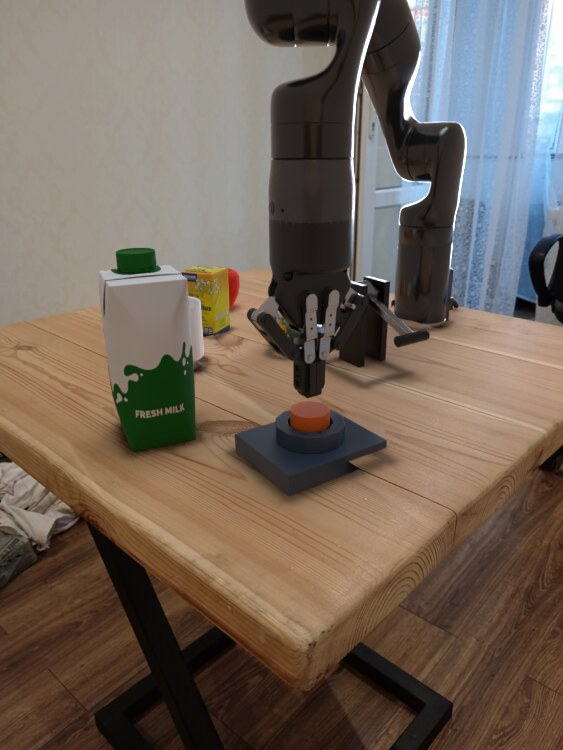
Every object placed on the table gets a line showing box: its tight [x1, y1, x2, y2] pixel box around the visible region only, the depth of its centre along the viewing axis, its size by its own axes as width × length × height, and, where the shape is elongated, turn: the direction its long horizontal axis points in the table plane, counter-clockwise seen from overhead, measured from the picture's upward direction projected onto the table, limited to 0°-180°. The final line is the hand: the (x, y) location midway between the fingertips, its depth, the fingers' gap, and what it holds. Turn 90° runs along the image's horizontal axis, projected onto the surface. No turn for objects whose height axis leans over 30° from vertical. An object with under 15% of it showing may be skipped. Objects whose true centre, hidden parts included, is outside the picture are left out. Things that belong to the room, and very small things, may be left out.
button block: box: [234, 408, 388, 497], centre depth 59 cm, size 12×10×4 cm
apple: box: [217, 266, 241, 309], centre depth 113 cm, size 9×9×8 cm
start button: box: [289, 400, 331, 432], centre depth 58 cm, size 4×4×2 cm
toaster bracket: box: [338, 275, 391, 368], centre depth 80 cm, size 10×8×13 cm
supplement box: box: [180, 265, 231, 337], centre depth 98 cm, size 6×6×11 cm
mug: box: [188, 296, 205, 371], centre depth 82 cm, size 12×9×9 cm
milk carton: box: [98, 247, 197, 453], centre depth 61 cm, size 9×9×20 cm
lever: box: [356, 280, 431, 348], centre depth 76 cm, size 12×5×2 cm, turn 34°
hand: (309, 394), depth 57 cm, fingers closed
